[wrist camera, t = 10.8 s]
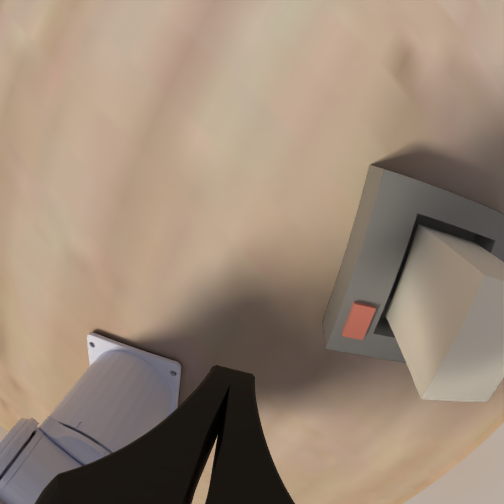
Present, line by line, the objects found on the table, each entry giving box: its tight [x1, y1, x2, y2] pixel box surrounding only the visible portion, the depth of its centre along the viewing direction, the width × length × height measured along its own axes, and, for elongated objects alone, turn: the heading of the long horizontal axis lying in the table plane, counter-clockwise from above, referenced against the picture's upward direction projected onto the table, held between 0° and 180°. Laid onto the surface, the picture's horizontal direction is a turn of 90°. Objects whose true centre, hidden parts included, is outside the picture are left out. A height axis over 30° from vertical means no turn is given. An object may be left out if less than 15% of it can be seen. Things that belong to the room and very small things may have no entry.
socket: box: [322, 165, 504, 363], centre depth 17 cm, size 10×10×3 cm
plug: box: [385, 224, 504, 402], centre depth 13 cm, size 4×6×8 cm
